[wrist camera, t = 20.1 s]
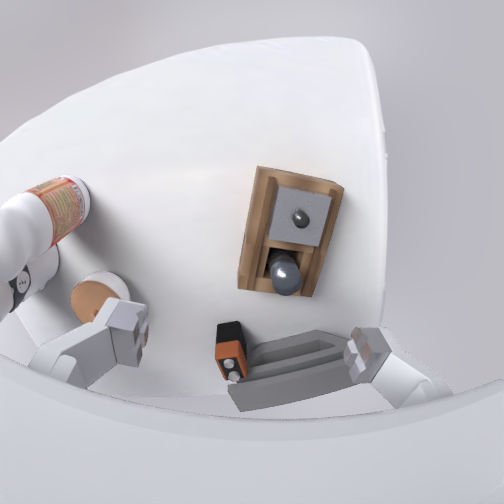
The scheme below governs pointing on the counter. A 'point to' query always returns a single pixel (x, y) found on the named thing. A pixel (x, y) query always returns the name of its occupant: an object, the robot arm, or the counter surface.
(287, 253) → the grey rounded cylinder
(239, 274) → the socket block
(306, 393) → the grey storage box
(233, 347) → the battery
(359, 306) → the counter surface
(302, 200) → the square lid with knob
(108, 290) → the lidded jar
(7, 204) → the fruit juice
